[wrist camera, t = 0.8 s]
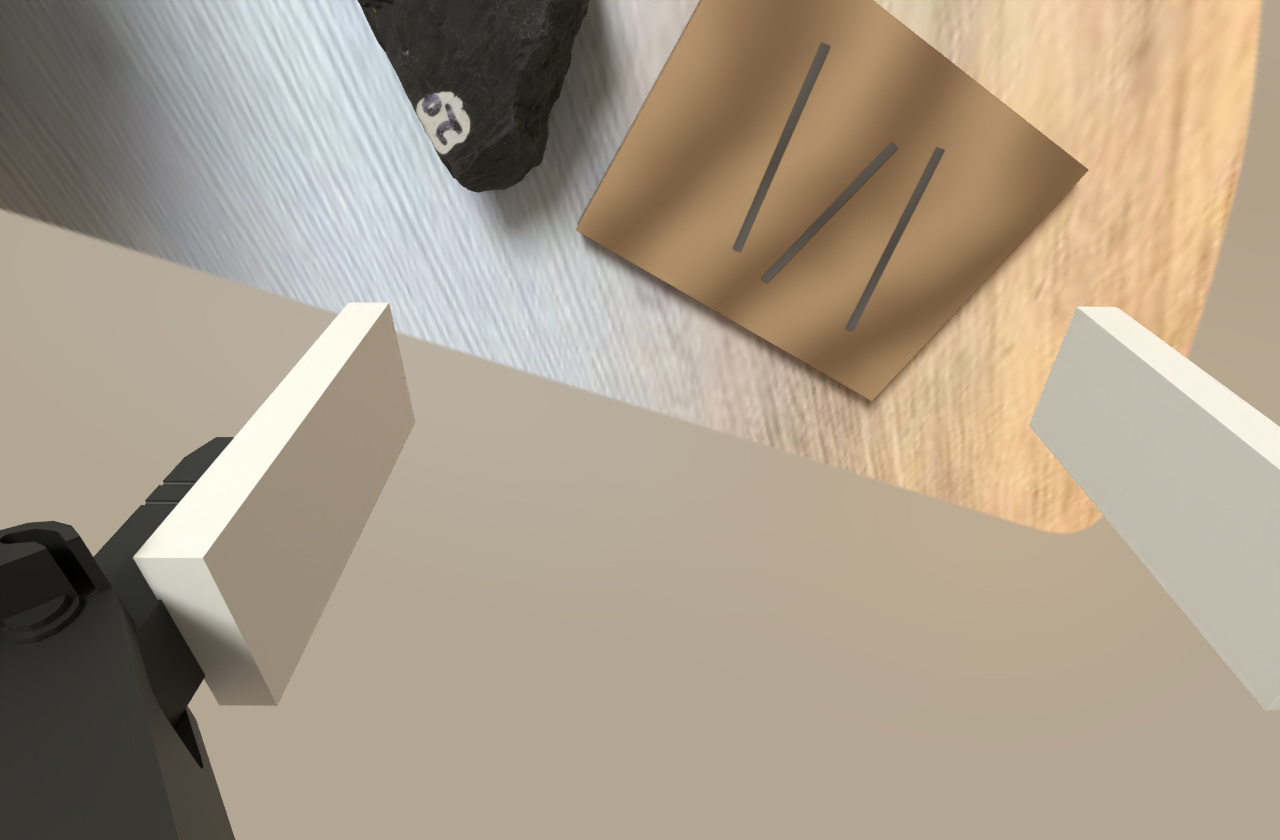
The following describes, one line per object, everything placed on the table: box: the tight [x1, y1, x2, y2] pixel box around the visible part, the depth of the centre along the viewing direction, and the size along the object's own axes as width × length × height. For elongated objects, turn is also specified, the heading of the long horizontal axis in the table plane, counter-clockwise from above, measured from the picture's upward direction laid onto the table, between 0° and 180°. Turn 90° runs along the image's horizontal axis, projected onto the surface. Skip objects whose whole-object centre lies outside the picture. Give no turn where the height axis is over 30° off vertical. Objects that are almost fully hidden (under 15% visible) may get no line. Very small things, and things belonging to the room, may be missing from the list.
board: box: [576, 0, 1088, 401], centre depth 31 cm, size 18×14×1 cm
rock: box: [358, 0, 589, 192], centre depth 26 cm, size 9×10×6 cm
